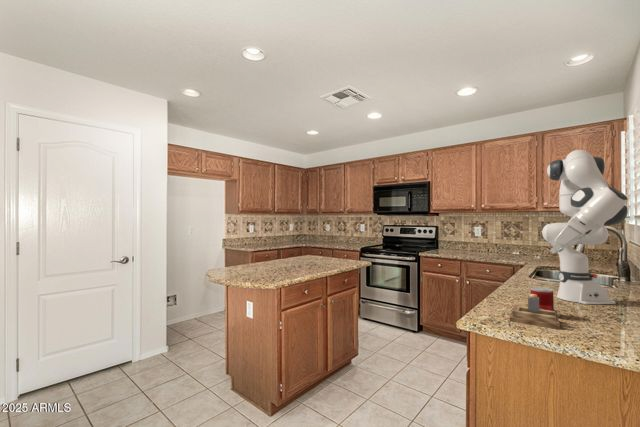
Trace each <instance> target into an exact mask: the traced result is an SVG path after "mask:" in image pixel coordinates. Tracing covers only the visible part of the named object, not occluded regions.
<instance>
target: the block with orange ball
mask: <svg viewBox="0 0 640 427" xmlns="http://www.w3.org/2000/svg"><path fill="white" fill-rule="evenodd" d="M527 307H528V312H531V313H537V314H539V297H537V295H536V294H531V293H529V295H528V297H527Z"/></svg>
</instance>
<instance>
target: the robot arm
mask: <svg viewBox="0 0 640 427" xmlns="http://www.w3.org/2000/svg"><path fill="white" fill-rule="evenodd" d="M606 166H607V165H606V162H605V160H604V158H602V157H599V156H592V154H591V153H590V152H589V151H587V150H585V149H576V150H572V151H571V152H570V153H568V154H567V156H565V158H563V159H555V160H551V162H549V163H548V166H547V169H546V173H547V176H548V177H549V179H550V180H551V181H557V182H558V181H561V182H560V185H559V191H558V192H559V196H558V200H559V201H558V202H559V203H558V204H559V205H558V206H559V211H560V213H562V215H565V216H568V217H570V219H569V220H568V221H567V222H554V223H553V222H552V223H547V224H545V225H544V227H543V228H542V229H541V230H542V231H541V235H542V237H543V240H544V241H546V242H547V243H549V244H550V245H551V246H552V248H551V249H549V252H550V253H552V254H556V253H557V254H558V258H559V266H560V267H559V271H558V272H559V273H558V274H559V275H558V277H559V278H558V280H559V286H558V291H557V295H556V298H558V299H560V300H564V301H568V302H574V303H579V304H583V305H616V300H614V299H612V298H610V296H609V292H608V289H606V288H605V287H603V286H602V285H601V284H599V283H598V282H596V281H595V280H593V279H597V278H599V275H598V274H597V273H596V274H595V273H591V272H589V258H588V256H587V255H586V254H585V253H583V252H581V251H578V250H576V249H574V248H573V247H572V246H574V245H586V246H591V245H592V246H593V245H601V244H604V243H605V242H607V240H608V238H609V236H610V235H609V230H608V228H607V227H606V226H613V225H619V224H621V223H622V222H624V221H625V219H626V218H627V216H628V206H627V205H626V204H627V203H628V201H629V200H628V199H629V198H628V197H627V195H626V194H625V193H623V192H621V191H620V190H619V189H616V188H615V187H612V186H610V185H609V183H608V182H607V180H606V179H605V177H604V176H603V175H604V173H605V171H606Z"/></svg>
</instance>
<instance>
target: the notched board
mask: <svg viewBox="0 0 640 427" xmlns="http://www.w3.org/2000/svg"><path fill="white" fill-rule="evenodd" d="M509 322H514V323H520V324H525V325H533V326H537V327H541V328H542V327H544V328H549V329H554V330H560V329H561V326H560V318H559V316H558V317H557V316H556V311H549V310H542V309H539V314H537V313H531V312H528V306H527V307H526V306H520V305H513V308H512V310H511V312H510V314H509Z"/></svg>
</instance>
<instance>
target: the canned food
mask: <svg viewBox="0 0 640 427" xmlns="http://www.w3.org/2000/svg"><path fill="white" fill-rule="evenodd" d="M530 294H536V295H537V297H539V309H542V310H549V311H554V310H555V309H554V304H555V303H554V301H555V300H554V298H555V297H554V289H553V288H548V287H545V286H543V287H542V286H532V287H530Z"/></svg>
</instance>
